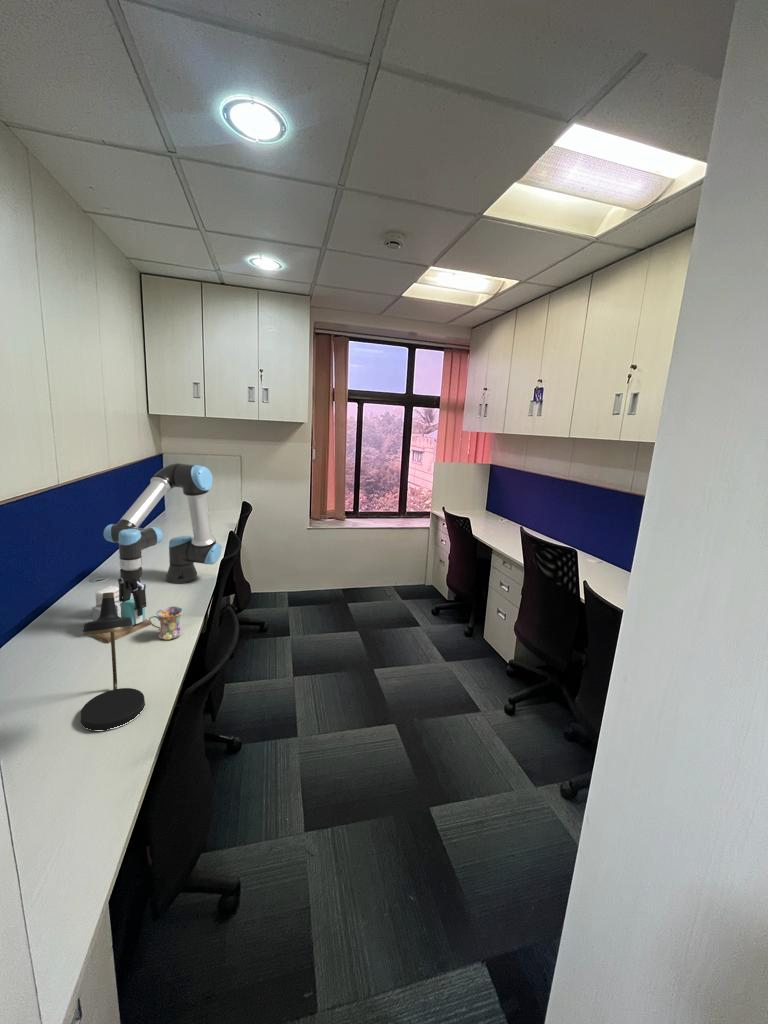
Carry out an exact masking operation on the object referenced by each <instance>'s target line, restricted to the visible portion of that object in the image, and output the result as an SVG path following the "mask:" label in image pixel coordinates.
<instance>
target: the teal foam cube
mask: <svg viewBox="0 0 768 1024" xmlns="http://www.w3.org/2000/svg"><path fill="white" fill-rule="evenodd" d="M135 608H136V606H135V602H134V598H133V597H132V598H130V600H128V601H125V602H122V601H121V613H120V617H130V618H131V619H132V624H133V625H134V624H135ZM145 608H146V607H144V608H143V615H142V619H143V621H144V620H145V619H146V613H145V612H146V611H145V610H146V609H145Z"/></svg>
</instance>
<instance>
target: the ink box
mask: <svg viewBox="0 0 768 1024" xmlns="http://www.w3.org/2000/svg"><path fill="white" fill-rule="evenodd" d="M109 592H113V593H114V600H115V605H117V609H118V615H119V614H121V603H122V601H121V602H120V601H119V586H114V585H110V586H108V587H105V588H102V589H100V590H98V591H96V592H95V606H97V605H100V604H102V596H103V593H109Z"/></svg>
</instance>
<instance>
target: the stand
mask: <svg viewBox="0 0 768 1024" xmlns="http://www.w3.org/2000/svg"><path fill="white" fill-rule="evenodd" d="M115 607H116V613H117V616H119V614H118V609H117V605H115ZM91 608H92V609H91V610H92V621H96V620H97V619H98V618H99V617H100V612H101V604H100V605H97V606H96V605H95V606H92V607H91ZM149 626H152V625H151V624H150V622H149V619H147V618H145V620H144V621H142V622H140V623H138V624H134V625H133V627H134V628H133V629H128V630H122V631H116V632H114V635H115V641H116V640H119V639H120V638H123V637H125V636H127V635H130V634H133V633H134V632H136V631H140V630H141V629H144V628H146V627H149ZM90 636H91V637H94V638H95V639H97V640H101V641H102V642H105V643H107V644H111V634H110V632H109V633H101V634H93V635H90Z"/></svg>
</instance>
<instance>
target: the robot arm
mask: <svg viewBox="0 0 768 1024" xmlns="http://www.w3.org/2000/svg"><path fill="white" fill-rule="evenodd" d="M213 479H214V478H213V474H212V472H211V470H210V469H209V468H207V467H206V466H203V465H200V464H199V465H198V464H195V465H194V464H187V463H176V462H175V463H171V464H168V465H166V466H164V467H163V468H161V469H160V470H159V471H157V472H156V473H155V474H154V475H153V476H152V477H151V478H150V484H149V485H148V486H147V487H146V488H145V489H144V490H143V492H142V493H141V494H140V495H139V496H138V498H136V500H135V501H134V502H133V504H132V505H131V506H130V507H129V508H128V509H127V510H126V512H125V514H123V515H122V517H121V518H120V519H119V521H118V522H117V523H111V524H108V525H107V526H105V528H104V529H103V537H104V539H105V540H106V541H107V542H111V543H114V544H118V552H119V568H120V570H119V574H120V578H118V579H117V581H118V587H119V601H120V602H121V603H122V602H125V601H128V600H130V599H131V596H132V599H133V598H134V602H135V606H136V608H135V624H138V623H140V622H142V621H143V619H142V615H143V608H144V607H145V608H147V595H146V588H147V587H146V585H147V584H142V583H141V579H140V578H141V577H142V576H143V567H142V566H143V561H142V560H143V558H142V557H143V556H142V551H143V550H145V549H147V548H150V547H153V546H156V545H157V544H160V543H161V542H162V540H163V538H164V534H163V532H162V530H161V529H160V528H159V527H156V526H151V527H148V528H143V527H140V526H141V525H142V523H143V522H144V521H145V520H146V518H147V517H149V514H150V513H151V512H152V511H153V509H154V508H155V507H156V505H158V503H159V502H160V500H161V499H162V498H163V497H164V496H165V494H166V493H169V492H170V491H171V490H172V489H174V488H182V494H183V495H185V496H186V498H187V502H188V503H187V504H188V510H189V516H190V521H191V527H192V535H193V536H192V535H180V536H175V537H172V538H171V539H170V540H169V541H168V557H169V562H168V563H169V566H168V569H167V573H166V575H165V578H166V579H165V580H166V581H167V582H168V583H171V584H186V583H187V584H188V583H191V582H193V581H196V579H198V572H197V569H196V567H195V564H194V563H196V564H203V565H215V564H216V563H217V562H218V561H219V560H220V558H221V555H222V551H223V549H222V547H223V546H222V545H221V543H219V542H217V540H216V537H215V536H214V535H212V527H211V520H210V512H209V507H208V506H209V505H208V497H207V494H208V493H209V491H210V489H211V488H212V486H213V482H214V481H213Z"/></svg>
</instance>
